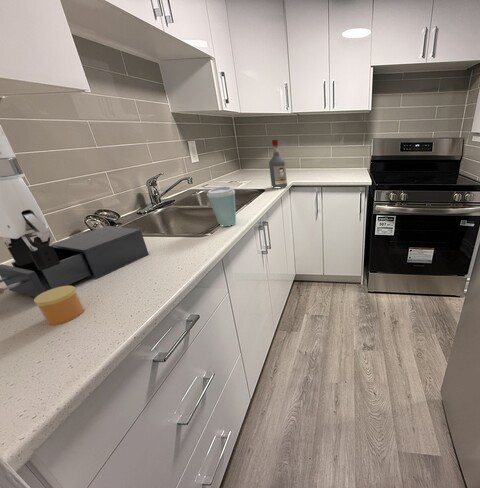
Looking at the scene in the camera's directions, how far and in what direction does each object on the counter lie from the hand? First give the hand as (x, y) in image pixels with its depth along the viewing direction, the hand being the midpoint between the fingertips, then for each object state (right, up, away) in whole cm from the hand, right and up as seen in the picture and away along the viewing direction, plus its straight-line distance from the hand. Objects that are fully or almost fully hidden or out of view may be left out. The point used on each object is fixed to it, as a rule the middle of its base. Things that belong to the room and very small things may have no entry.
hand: (39, 264), depth 51 cm
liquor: (+25, +43, +127) cm, 136 cm away
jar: (0, -11, +5) cm, 13 cm away
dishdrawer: (-10, -2, +28) cm, 30 cm away
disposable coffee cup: (+15, +12, +58) cm, 61 cm away
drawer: (-14, -6, +16) cm, 22 cm away
